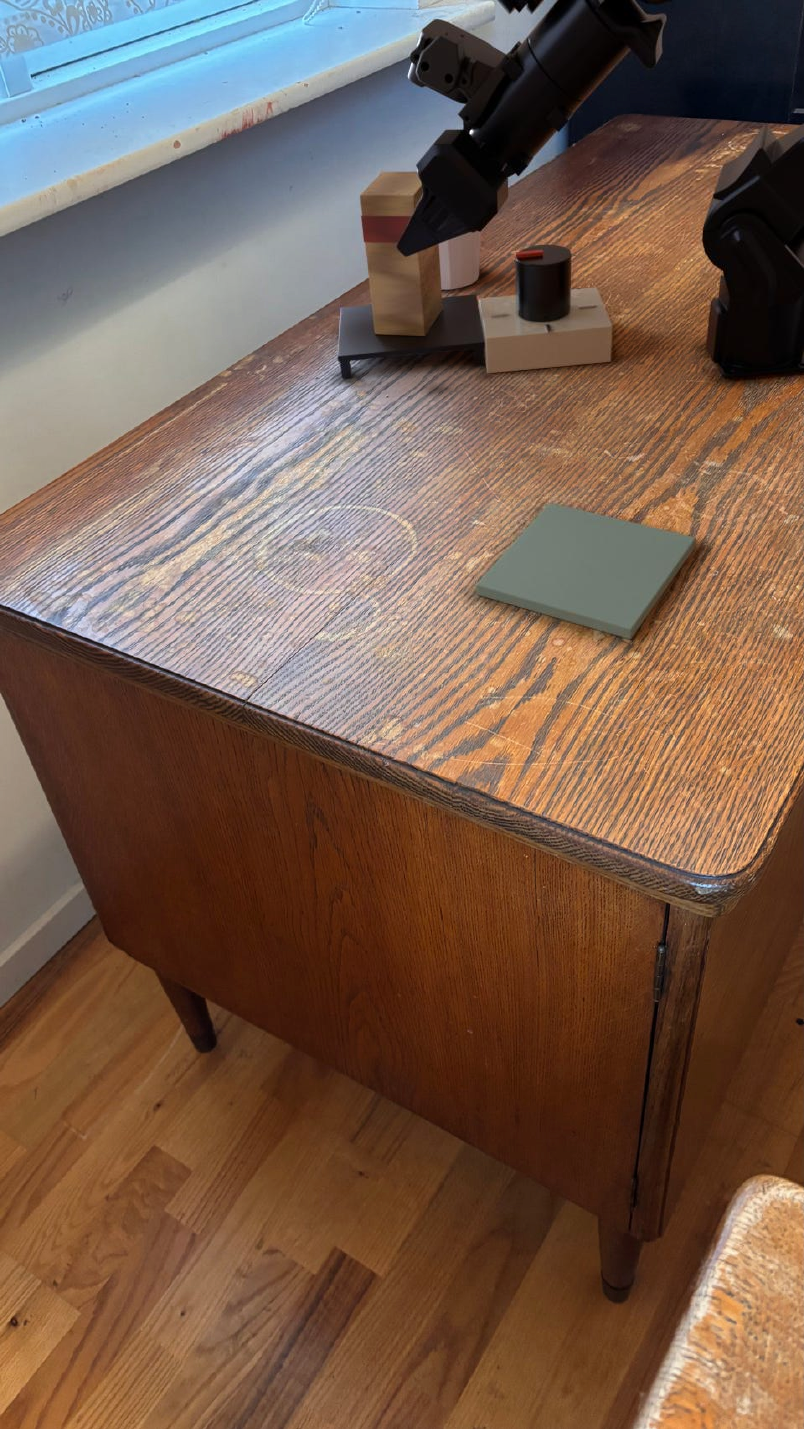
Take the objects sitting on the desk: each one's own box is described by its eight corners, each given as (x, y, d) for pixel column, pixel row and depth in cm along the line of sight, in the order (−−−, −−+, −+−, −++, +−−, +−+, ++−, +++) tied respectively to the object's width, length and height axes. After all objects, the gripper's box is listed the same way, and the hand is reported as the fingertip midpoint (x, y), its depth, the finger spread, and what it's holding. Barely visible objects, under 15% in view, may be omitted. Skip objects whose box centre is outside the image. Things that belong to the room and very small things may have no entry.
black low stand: (477, 316, 93) (476, 294, 92) (485, 365, 86) (484, 342, 85) (343, 329, 94) (340, 307, 93) (340, 379, 87) (337, 356, 85)
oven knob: (566, 297, 87) (567, 238, 84) (574, 319, 84) (575, 258, 81) (513, 303, 87) (512, 243, 84) (519, 324, 84) (518, 263, 81)
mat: (549, 512, 70) (549, 501, 69) (695, 547, 65) (696, 537, 65) (476, 595, 64) (475, 584, 63) (630, 640, 59) (631, 629, 59)
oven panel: (595, 320, 91) (596, 283, 88) (611, 363, 84) (613, 325, 82) (479, 331, 91) (478, 295, 89) (487, 375, 85) (486, 337, 83)
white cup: (403, 290, 99) (396, 212, 95) (429, 262, 104) (423, 187, 99) (471, 294, 97) (467, 215, 92) (495, 266, 102) (492, 189, 97)
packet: (443, 308, 90) (434, 171, 83) (425, 337, 87) (414, 195, 79) (394, 307, 92) (381, 171, 84) (374, 335, 88) (358, 195, 80)
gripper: (505, -52, 77) (378, 118, 88) (437, 3, 64) (298, 193, 75) (608, 68, 80) (474, 218, 91) (562, 142, 68) (412, 306, 78)
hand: (417, 230), depth 84 cm, fingers open, 9 cm apart
